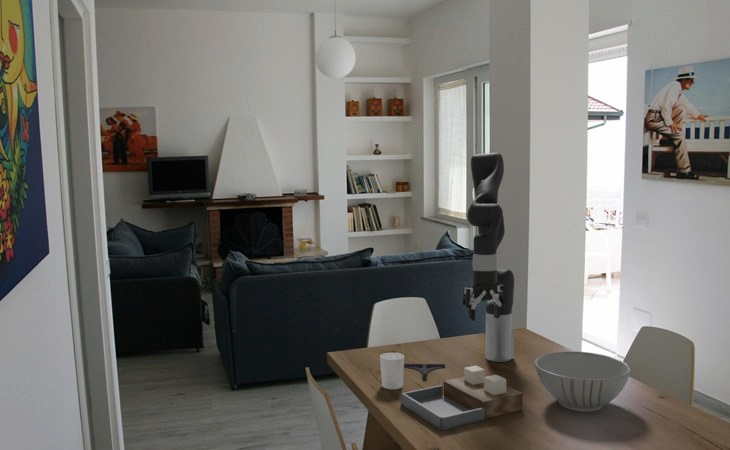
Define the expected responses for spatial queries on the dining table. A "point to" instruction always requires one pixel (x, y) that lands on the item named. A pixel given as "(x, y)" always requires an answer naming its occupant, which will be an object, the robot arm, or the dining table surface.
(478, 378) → the cream cube
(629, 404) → the dining table surface
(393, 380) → the white cup
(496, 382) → the off-white cube
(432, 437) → the dining table surface
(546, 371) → the decorative bowl
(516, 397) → the walnut board
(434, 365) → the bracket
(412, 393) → the tray
